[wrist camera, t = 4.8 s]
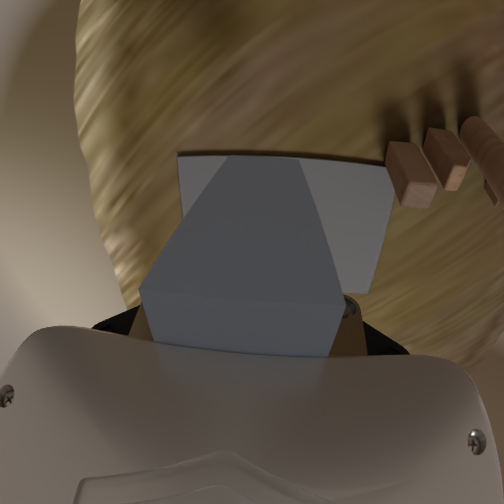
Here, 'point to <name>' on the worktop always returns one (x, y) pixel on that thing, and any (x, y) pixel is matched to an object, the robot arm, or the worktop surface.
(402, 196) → the wooden block set
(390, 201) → the mat
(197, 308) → the slab
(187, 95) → the worktop surface
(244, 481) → the robot arm
